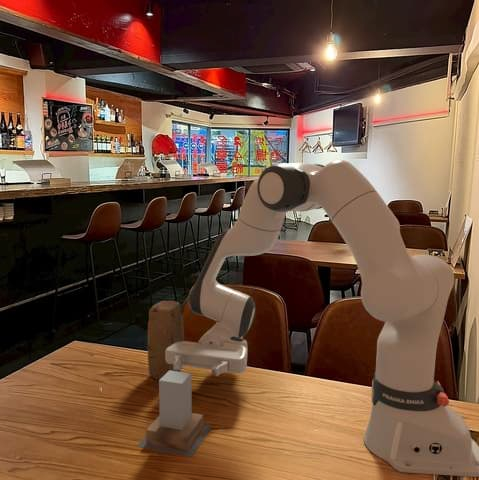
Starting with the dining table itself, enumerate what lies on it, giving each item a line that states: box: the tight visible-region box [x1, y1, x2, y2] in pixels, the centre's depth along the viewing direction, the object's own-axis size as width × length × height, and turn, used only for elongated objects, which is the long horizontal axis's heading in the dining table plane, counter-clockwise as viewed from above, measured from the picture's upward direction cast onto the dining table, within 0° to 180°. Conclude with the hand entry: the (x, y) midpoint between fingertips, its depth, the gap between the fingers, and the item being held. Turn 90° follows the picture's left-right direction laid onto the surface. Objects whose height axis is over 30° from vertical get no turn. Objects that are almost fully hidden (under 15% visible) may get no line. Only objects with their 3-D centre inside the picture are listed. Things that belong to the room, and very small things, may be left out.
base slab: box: [145, 412, 205, 451], centre depth 98 cm, size 9×9×3 cm
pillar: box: [158, 370, 193, 430], centre depth 97 cm, size 5×5×10 cm
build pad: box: [136, 423, 213, 458], centre depth 99 cm, size 12×12×1 cm
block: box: [147, 300, 185, 381], centre depth 128 cm, size 11×8×20 cm
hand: (195, 369), depth 108 cm, fingers open, 8 cm apart
